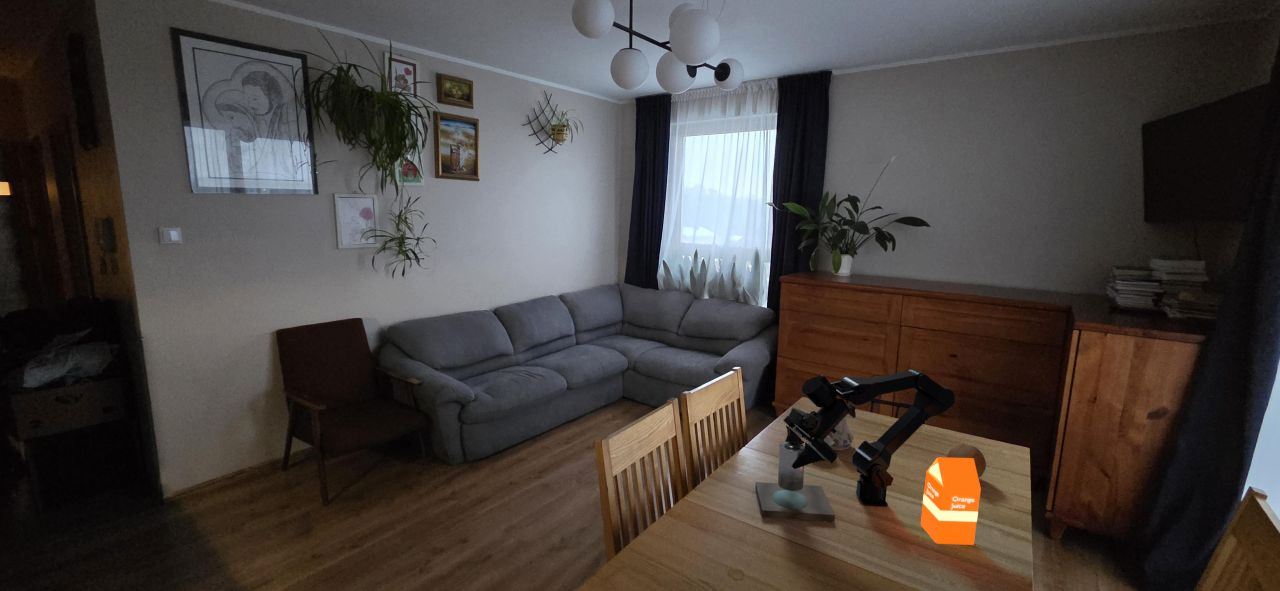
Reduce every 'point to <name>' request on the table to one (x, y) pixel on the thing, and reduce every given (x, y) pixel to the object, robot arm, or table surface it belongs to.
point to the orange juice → (951, 501)
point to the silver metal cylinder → (790, 466)
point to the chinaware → (839, 437)
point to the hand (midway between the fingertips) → (786, 461)
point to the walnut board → (794, 503)
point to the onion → (969, 456)
